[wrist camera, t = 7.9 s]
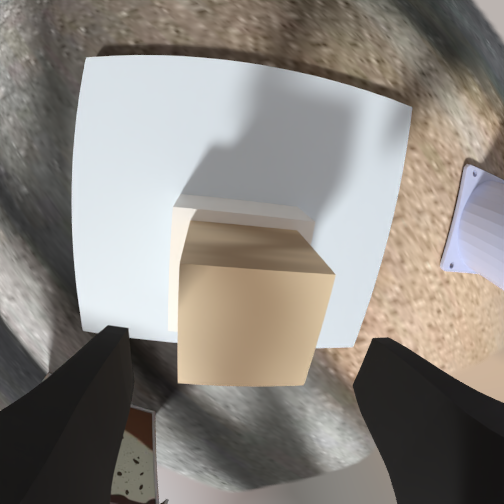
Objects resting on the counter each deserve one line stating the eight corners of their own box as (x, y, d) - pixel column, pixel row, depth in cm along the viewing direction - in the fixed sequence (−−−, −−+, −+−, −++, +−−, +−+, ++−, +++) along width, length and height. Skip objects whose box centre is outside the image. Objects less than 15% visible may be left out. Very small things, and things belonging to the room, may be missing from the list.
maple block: (297, 230, 13) (336, 274, 9) (279, 320, 15) (303, 385, 10) (190, 220, 12) (179, 263, 8) (184, 315, 14) (177, 383, 10)
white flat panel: (403, 107, 15) (412, 107, 14) (348, 338, 21) (353, 347, 20) (92, 61, 12) (86, 57, 12) (87, 322, 18) (82, 330, 17)
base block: (297, 206, 16) (315, 222, 13) (278, 307, 18) (289, 337, 15) (180, 193, 15) (172, 206, 12) (173, 300, 17) (167, 331, 14)
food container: (37, 407, 20) (4, 488, 11) (33, 365, 19) (-15, 457, 9) (158, 450, 23) (152, 540, 14) (173, 416, 22) (168, 524, 12)
